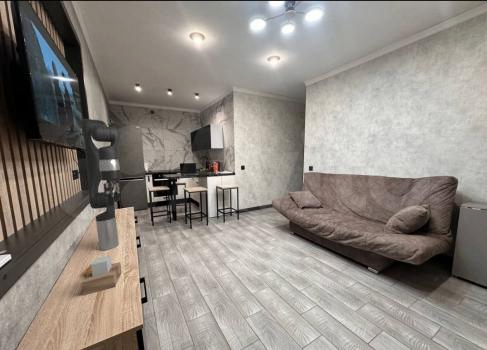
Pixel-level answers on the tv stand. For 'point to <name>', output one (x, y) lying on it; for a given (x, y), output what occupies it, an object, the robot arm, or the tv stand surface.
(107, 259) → the grey cube
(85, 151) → the robot arm
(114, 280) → the tan square block
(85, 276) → the pastry
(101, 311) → the tv stand surface
